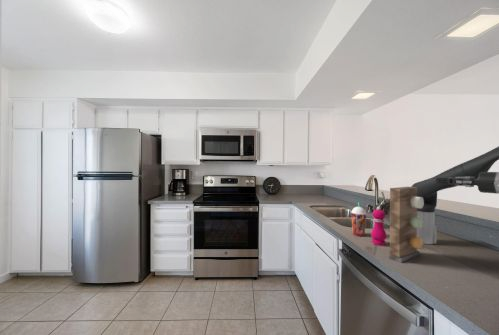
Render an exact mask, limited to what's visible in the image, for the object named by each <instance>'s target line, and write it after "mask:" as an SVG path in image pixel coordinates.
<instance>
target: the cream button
mask: <svg viewBox="0 0 499 335" xmlns="http://www.w3.org/2000/svg"><path fill="white" fill-rule="evenodd" d="M423 205H424V200H423V198H422V197H416V196H413V197H412V198H411V206H412V207H414V208H422V207H423Z"/></svg>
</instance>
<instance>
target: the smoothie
mask: <svg viewBox="0 0 499 335" xmlns="http://www.w3.org/2000/svg"><path fill="white" fill-rule="evenodd" d="M350 214H351V216H350V218H351V233H352V234H353V235H354V236H356V235H357V237H363V235H365V234H366V222H367V221H366V220H367V212H366V210H365V209H364V208H363V207H362V206H360V202H357V206H355V207H353V208H352V210H351V211H350Z"/></svg>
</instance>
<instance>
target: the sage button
mask: <svg viewBox="0 0 499 335" xmlns="http://www.w3.org/2000/svg"><path fill="white" fill-rule="evenodd" d="M410 224H411V227H414V228H418V229H422V227H423V224H424V220H423V218H421V217H416V216H413V217H412V218H411V221H410Z"/></svg>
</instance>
